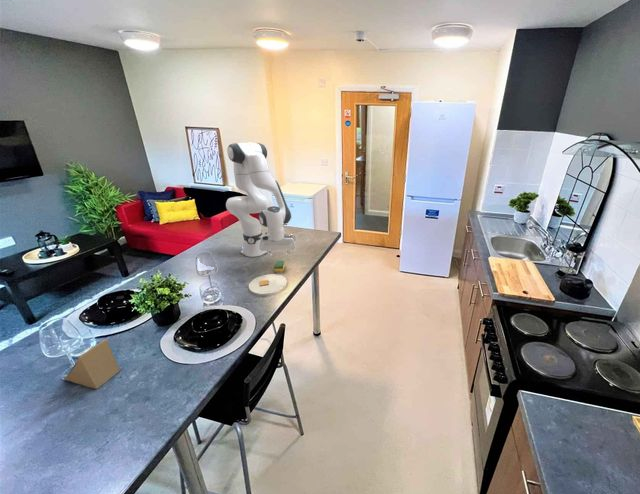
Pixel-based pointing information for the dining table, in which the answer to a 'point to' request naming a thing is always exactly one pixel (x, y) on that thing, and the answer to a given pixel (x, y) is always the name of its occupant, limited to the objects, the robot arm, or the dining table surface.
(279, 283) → the plate
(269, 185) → the robot arm
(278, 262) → the sponge
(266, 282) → the cracker
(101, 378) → the sandwich container
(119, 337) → the dining table surface
